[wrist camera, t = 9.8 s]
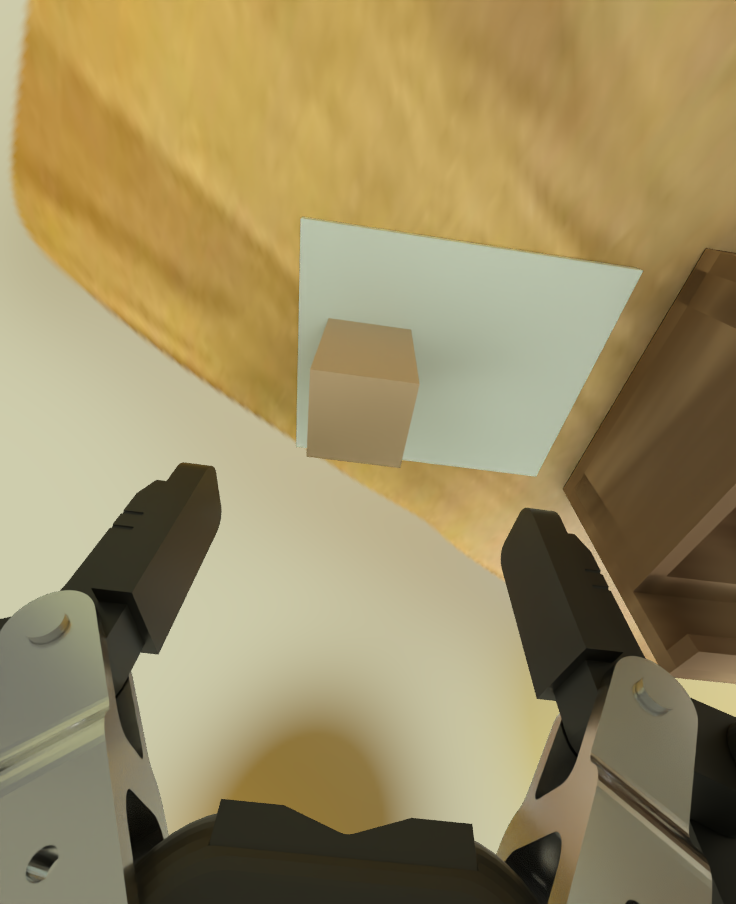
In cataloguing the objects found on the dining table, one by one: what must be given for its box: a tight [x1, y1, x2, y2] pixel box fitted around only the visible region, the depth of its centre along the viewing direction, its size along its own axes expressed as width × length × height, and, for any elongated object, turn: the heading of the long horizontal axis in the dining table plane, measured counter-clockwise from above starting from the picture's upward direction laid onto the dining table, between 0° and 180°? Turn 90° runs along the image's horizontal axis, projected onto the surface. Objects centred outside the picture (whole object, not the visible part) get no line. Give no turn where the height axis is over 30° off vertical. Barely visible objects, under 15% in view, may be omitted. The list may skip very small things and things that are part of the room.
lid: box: [296, 217, 643, 476], centre depth 16 cm, size 13×10×6 cm
